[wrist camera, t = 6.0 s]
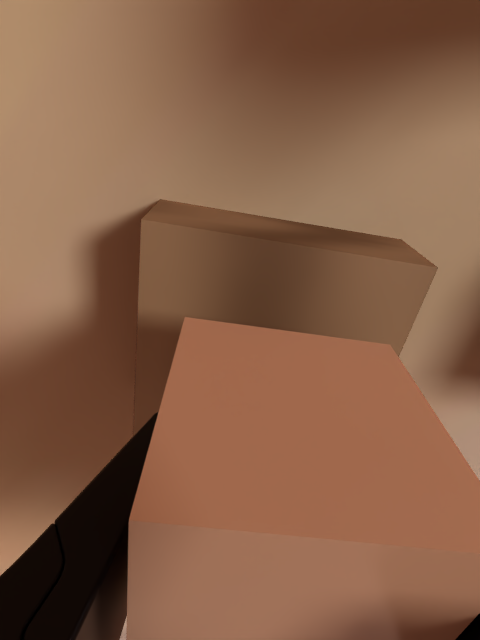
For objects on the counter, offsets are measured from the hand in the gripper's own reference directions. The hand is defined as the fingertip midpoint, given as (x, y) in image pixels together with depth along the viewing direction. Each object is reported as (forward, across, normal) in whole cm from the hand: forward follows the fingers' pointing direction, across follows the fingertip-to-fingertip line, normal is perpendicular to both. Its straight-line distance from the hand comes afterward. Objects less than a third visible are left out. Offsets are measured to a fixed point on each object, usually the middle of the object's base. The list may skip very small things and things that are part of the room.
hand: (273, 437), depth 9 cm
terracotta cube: (+1, 0, 0) cm, 1 cm away
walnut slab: (+6, 0, 0) cm, 6 cm away
